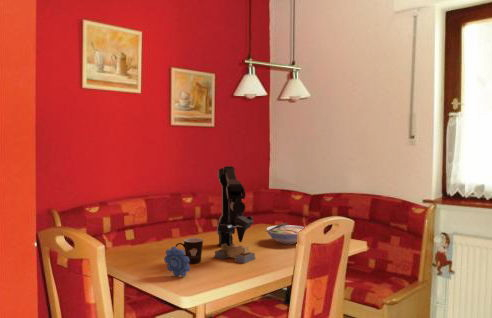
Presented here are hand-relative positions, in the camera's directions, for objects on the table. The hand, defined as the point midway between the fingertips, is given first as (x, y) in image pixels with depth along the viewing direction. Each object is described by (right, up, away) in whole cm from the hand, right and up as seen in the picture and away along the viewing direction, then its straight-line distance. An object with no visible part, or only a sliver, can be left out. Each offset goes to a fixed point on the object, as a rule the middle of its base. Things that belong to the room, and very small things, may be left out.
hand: (234, 243), depth 208 cm
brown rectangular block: (0, -6, +1) cm, 6 cm away
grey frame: (0, -7, +1) cm, 7 cm away
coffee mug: (-20, -7, -5) cm, 22 cm away
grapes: (-23, -8, -27) cm, 37 cm away
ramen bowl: (+27, -6, +32) cm, 42 cm away
